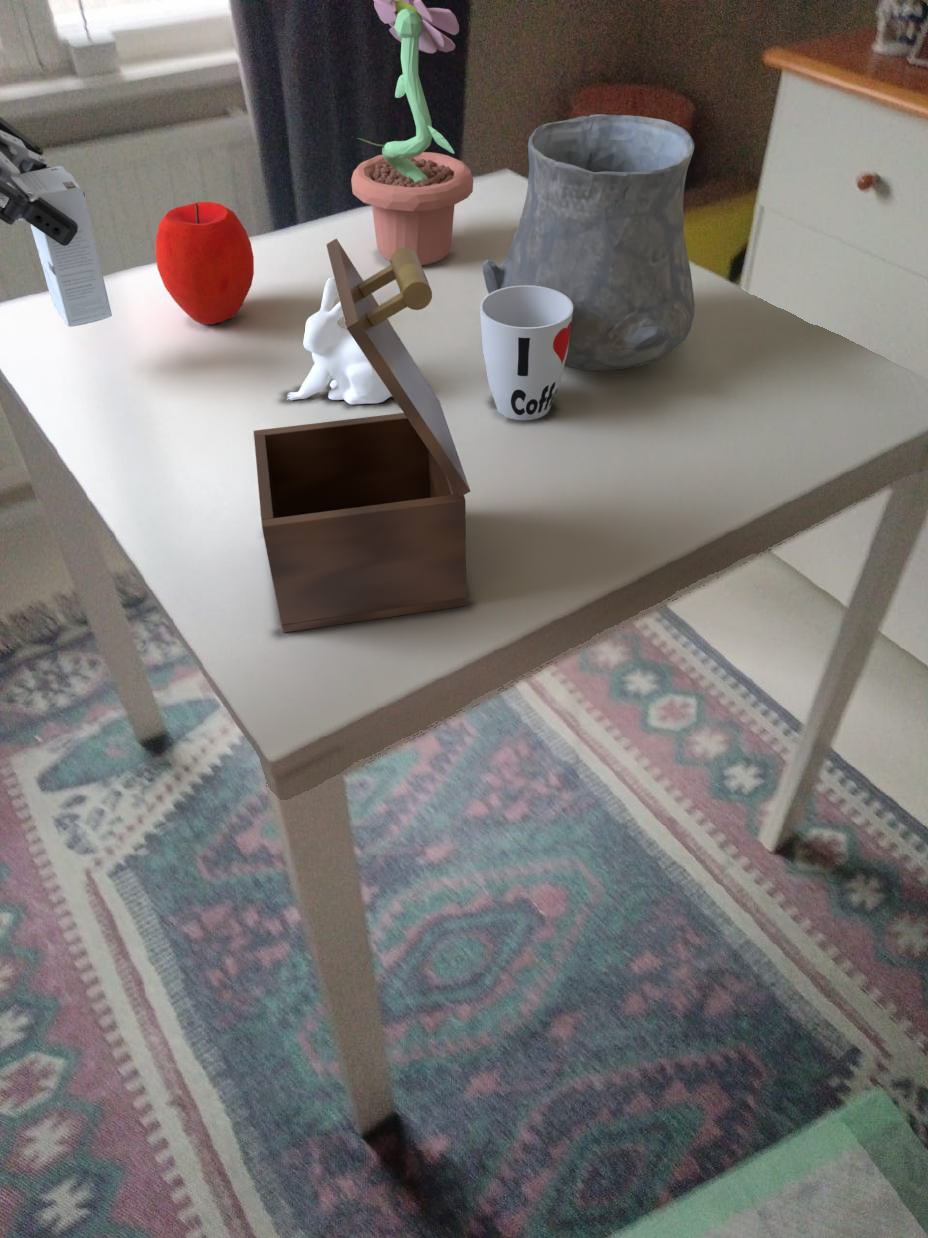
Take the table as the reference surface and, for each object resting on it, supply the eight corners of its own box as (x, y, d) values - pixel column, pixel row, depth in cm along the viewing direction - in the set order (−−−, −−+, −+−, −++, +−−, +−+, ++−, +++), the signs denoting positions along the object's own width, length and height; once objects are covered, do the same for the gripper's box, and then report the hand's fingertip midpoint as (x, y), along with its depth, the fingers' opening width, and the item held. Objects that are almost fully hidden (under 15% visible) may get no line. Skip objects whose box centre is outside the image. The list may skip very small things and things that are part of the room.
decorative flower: (504, 252, 116) (510, -48, 96) (425, 293, 109) (412, -23, 88) (413, 220, 124) (400, -67, 103) (333, 256, 116) (301, -45, 95)
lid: (346, 327, 56) (422, 282, 55) (325, 244, 64) (391, 203, 63) (460, 497, 66) (526, 461, 65) (430, 405, 74) (488, 372, 73)
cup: (506, 438, 88) (508, 336, 81) (465, 396, 94) (463, 297, 87) (582, 415, 91) (591, 314, 84) (538, 375, 96) (542, 277, 89)
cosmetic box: (51, 304, 94) (10, 173, 85) (97, 293, 96) (61, 163, 87) (69, 330, 90) (29, 195, 82) (117, 317, 92) (82, 184, 83)
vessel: (538, 423, 90) (549, 203, 76) (461, 316, 105) (458, 116, 91) (747, 381, 95) (793, 167, 81) (644, 285, 110) (668, 90, 96)
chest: (282, 633, 71) (261, 526, 64) (272, 533, 79) (253, 430, 72) (467, 605, 73) (465, 499, 66) (438, 511, 81) (435, 408, 74)
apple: (231, 348, 101) (208, 230, 92) (150, 331, 103) (121, 215, 95) (279, 305, 107) (262, 192, 99) (202, 291, 110) (179, 179, 102)
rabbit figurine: (284, 400, 93) (269, 305, 87) (308, 361, 99) (295, 268, 92) (406, 412, 92) (401, 315, 85) (424, 371, 97) (420, 277, 90)
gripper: (-116, 68, 71) (94, 218, 81) (-78, 21, 81) (104, 159, 91) (-162, 151, 74) (46, 286, 83) (-119, 95, 84) (61, 221, 94)
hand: (76, 219), depth 87 cm, fingers closed on cosmetic box, 7 cm apart
